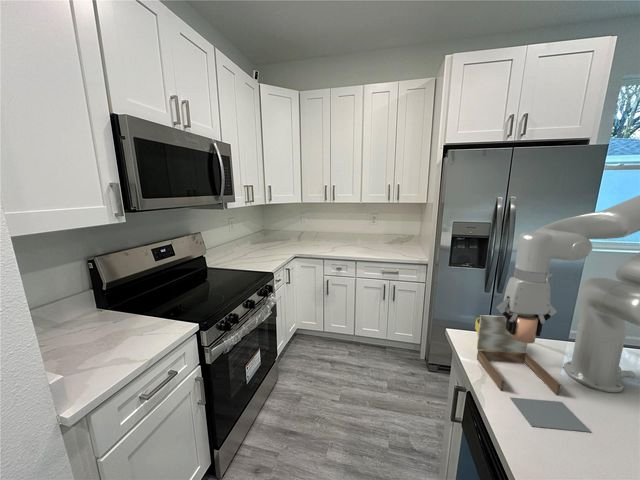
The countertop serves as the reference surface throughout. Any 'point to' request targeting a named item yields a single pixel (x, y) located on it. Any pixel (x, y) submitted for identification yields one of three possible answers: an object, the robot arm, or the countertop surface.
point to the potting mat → (548, 414)
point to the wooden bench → (500, 340)
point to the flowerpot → (525, 328)
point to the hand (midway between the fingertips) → (522, 332)
